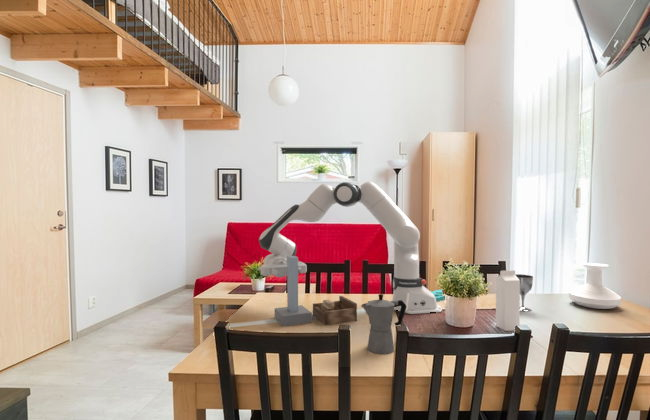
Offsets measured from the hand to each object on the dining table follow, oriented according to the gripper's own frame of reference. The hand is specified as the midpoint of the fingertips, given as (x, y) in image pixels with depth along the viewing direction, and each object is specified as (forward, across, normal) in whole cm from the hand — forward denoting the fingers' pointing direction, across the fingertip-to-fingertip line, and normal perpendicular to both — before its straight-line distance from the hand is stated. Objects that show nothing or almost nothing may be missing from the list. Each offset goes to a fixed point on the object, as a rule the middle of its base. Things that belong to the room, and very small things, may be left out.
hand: (288, 272), depth 158 cm
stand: (+5, 0, +19) cm, 19 cm away
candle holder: (+40, +136, +18) cm, 143 cm away
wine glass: (+31, +100, +19) cm, 106 cm away
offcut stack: (+9, +14, +19) cm, 25 cm away
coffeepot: (+46, +18, +19) cm, 52 cm away
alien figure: (+1, +84, +19) cm, 86 cm away
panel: (+5, 0, +15) cm, 16 cm away
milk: (+47, +72, +19) cm, 88 cm away
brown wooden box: (+9, +17, +19) cm, 27 cm away
